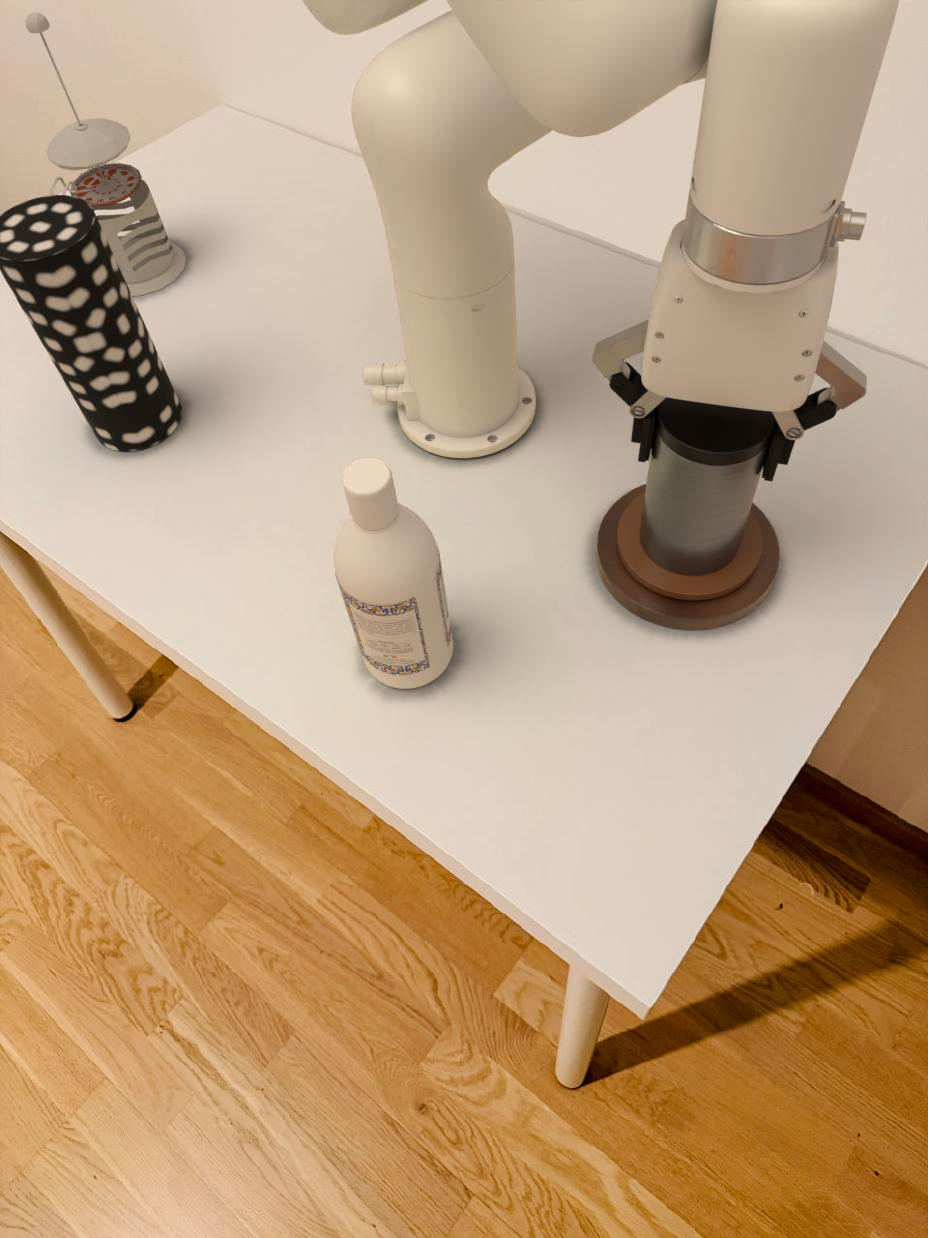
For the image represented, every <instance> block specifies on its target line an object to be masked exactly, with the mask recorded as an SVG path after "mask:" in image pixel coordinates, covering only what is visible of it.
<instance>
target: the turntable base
mask: <svg viewBox="0 0 928 1238" xmlns="http://www.w3.org/2000/svg"><path fill="white" fill-rule="evenodd" d="M645 490H646V483H644V484H641V485H639V486H637V487H635V488H632V489H631V490H629V491H627V492H626V493H624V494H623V495H622V496H621V497H620V498H619V499H617V500H616V501H615V502H614V503H613V504H612V505H611V506H610V507H609V508H608V510H607V512H606V513H605V515H604V517H603V519H602V521H601V523H600V524H599V529H598V533H597V540H596V549H595V550H596V551H595V555H596V557H595V558H596V565H597V569H598V573H599V576H600V578H601V580H602V582H603V584H604V585H605V587H606V589H607V590H608V592H609V594H611V595H612V597H614V599H615V600H616V601H617V602H618V603H620V605H621V606H623V607H624V608H626V610H628V611H629V612H630V613H632V614H634V615H635V616H638V617H639V618H641V619H643V620H645V621H648V622H649V623H652V624H655V625H658V626H661V627H665V628H670V629H674V630H683V631H704V630H710V629H711V630H712V629H716V628H720V627H724V626H727V625H730V624H732V623H735V622H737V621H739V620H741V619H742V618H744V617H746V616H748V615H749V614H750V613H752V612H753V611H754V610H756V608H757V607H759V606H760V605H761V604H762V602H763V601H764V600H765V598H766V597H767V596H768V595H769V593H770V591H771V588H772V586H773V584H774V581H775V578H776V576H777V573H778V569H779V565H780V560H781V559H780V545H779V540H778V539H779V538H778V536H777V533H776V531H775V529H774V527H773V525H772V523H771V522H770V520H769V519H768V517H767V516H766V515H765V512H763V511H762V510H761V508H759V507H758V505H756V504H755V503H754V501H753V502H752V505H751V509H750V512H751V513H752V514H753V516H754V517H755V519H756V520H757V523H758V525H759V527H760V530H761V534H762V541H763V543H762V552H761V557H760V560H759V562H758V565H757V567H756V569H755V571H754V572H753V574H752V575H751V577H750V578H749V579H748V580H747V581H746V582H745V583H744V584H743V585H741V586H740V587H739V588H737V589H735V590H734V591H732V592H730V593H728V594H726V595H723V596H720V597H717V598H712V599H707V600H682V599H675V598H671V597H667V596H665V595H662V594H659V593H657V592H655V591H653V590H651V589H649V588H647V587H646V586H644V585H643V584H641V583H640V582H639V581H637V580H636V579H635V578H634V577H633V576H632V575H631V574H630V573H629V571H628V570H627V569H626V567H625V566H624V564H623V562H622V560H621V558H620V555H619V552H618V548H617V530H618V524H619V521H620V518H621V516H622V514H623V512H624V511H625V509H626V508H627V507H628V505H629V504H630V503H631V502H632V501H633V500H634V499H636V498H637V497H638V496H640V495H641V494H643V493H645Z"/></svg>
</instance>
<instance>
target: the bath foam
mask: <svg viewBox="0 0 928 1238" xmlns="http://www.w3.org/2000/svg"><path fill="white" fill-rule="evenodd" d="M341 483H342V484H341V485H342V487H343V488H342V489H343V490H344V495H345V497H346V498H345V499H346V502H347V505H348V509H349V512H350V514H349V515H347V517H346V519H345V520H344V521H343V523H342V525H341V527H340V529H339V530H338V532H337V535H336V538H335V542H334V548H333V565H334V567H333V568H334V574H335V578H336V582H337V584H338V587H339V590H340V593H341V596H342V599H343V600H342V601H343V602H344V606H345V609H346V612H347V615H348V618H349V621H350V624H351V627H352V630H353V633H354V636H355V639H356V642H357V645H358V648H359V651H360V654H361V657H362V660H363V662H364V665H365V667H366V669H367V670H368V672H369V673H370V675H372V676H373V678H375V679H376V680H378V681H379V682H380V683H382V684H383V685H385V686H388V687H391V688H394V689H401V690H406V689H415V688H416V689H417V688H420V687H422V686H426V685H427V684H430V683H431V682H433V681H435V680H436V679H437V678H438V677H440V676H441V675H442V674H443V673H444V671H445V670H446V669H447V667H448V666H449V664H450V662H451V660H452V656H453V652H454V639H453V633H452V624H451V623H452V622H451V617H450V611H449V605H448V599H447V593H446V586H445V580H444V574H443V567H442V561H441V553H440V550H439V547H438V546H439V545H438V544H437V541H436V538H435V536H434V533H432V530H431V529H430V528H429V526H428V524H427V523H426V522H425V520H424V519H423V518H422V517H421V516H420V515H419V514H417V513H416V511H413V510H412V509H411V508H409V507H408V506H405V505H404V504H402V503H399V502H398V498H397V497H398V496H397V491H396V488H395V482H394V478H393V473H392V471H391V468H390V466H389V465H388V464H387V463H386V461H384V460H382V459H380V458H376V457H362V458H357V459H356V460H354V461H352V462H351V463H349V464H348V465H347V466H346V467H345V469H344V470H343V472H342V476H341Z"/></svg>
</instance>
